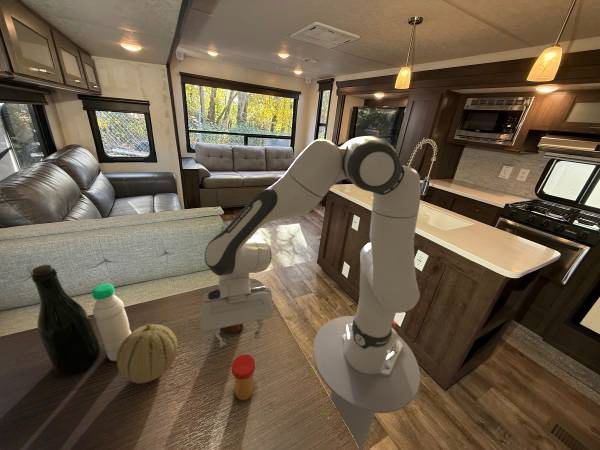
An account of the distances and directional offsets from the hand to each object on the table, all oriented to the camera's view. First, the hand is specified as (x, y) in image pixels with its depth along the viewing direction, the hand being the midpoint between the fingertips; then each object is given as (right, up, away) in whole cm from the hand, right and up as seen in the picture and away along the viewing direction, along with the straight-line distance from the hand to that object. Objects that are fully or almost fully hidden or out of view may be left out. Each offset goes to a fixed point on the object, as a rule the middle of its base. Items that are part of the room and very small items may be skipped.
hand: (241, 342), depth 67 cm
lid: (+1, -5, -2) cm, 6 cm away
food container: (-10, -5, +23) cm, 25 cm away
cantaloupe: (-27, -11, +6) cm, 30 cm away
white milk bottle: (-40, -8, +10) cm, 42 cm away
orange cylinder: (0, -15, +2) cm, 15 cm away
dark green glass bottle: (-50, -9, +6) cm, 51 cm away
